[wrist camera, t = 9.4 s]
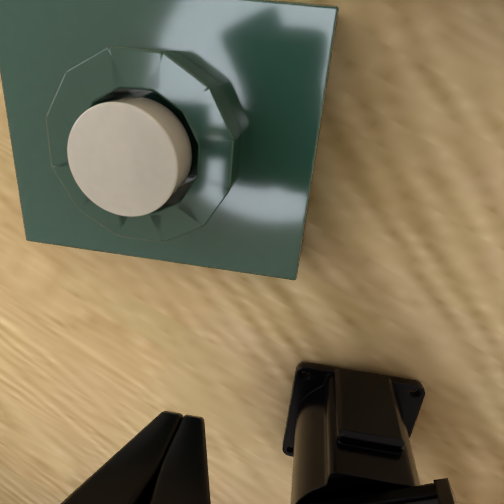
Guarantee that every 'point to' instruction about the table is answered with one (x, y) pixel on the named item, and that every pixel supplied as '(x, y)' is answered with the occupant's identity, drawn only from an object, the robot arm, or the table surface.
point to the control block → (185, 109)
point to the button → (129, 155)
